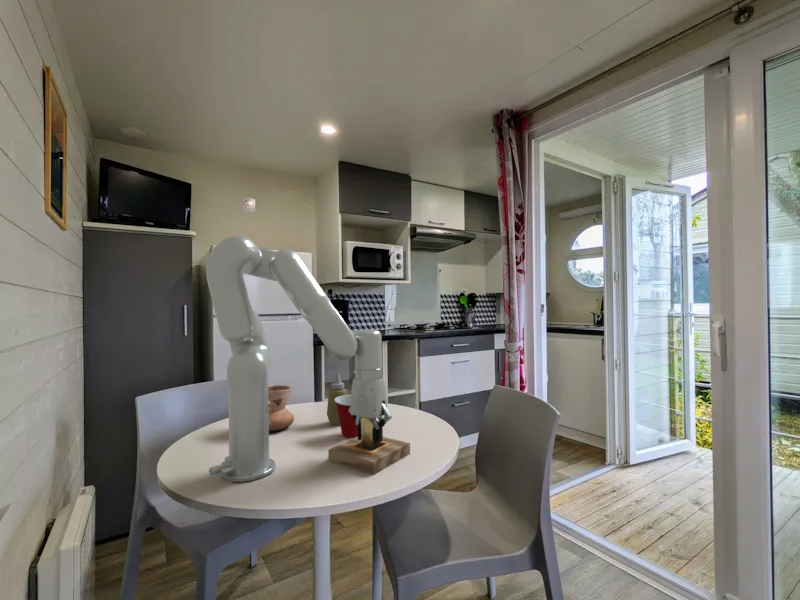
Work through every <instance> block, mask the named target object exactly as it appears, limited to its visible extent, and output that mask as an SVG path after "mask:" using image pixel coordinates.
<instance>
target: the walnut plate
mask: <svg viewBox="0 0 800 600" xmlns="http://www.w3.org/2000/svg"><path fill="white" fill-rule="evenodd" d="M327 453H328V461H329V462H331V463H335V464H338V465H341V466H346V467H347V468H348V467H349V468H351V469H355V470H358V471H361V472H363V473H364V472H365V473H368V474H371V475H376V474H377V473H380V472H382V471H383V470H384V469H386V468H388V467H390V466H392V465H393V464H395V463H397V462H399V461H400V460H402V459H404V458H405V457H407V456H408V455H410V454H411V442H408V441H403V440H398V439H393V438H389V437H387V436H385V437H384V436H383V438H382V441H381V442H379V448H377V449H375V450H373V451H369V450H365V449H361V440H358V436H357V437H353V438H352V439H349V440H347V441H345V442H343V443H341V444H337V445H336V446H333V447H331V448H328V452H327Z"/></svg>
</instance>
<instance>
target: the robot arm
mask: <svg viewBox="0 0 800 600" xmlns="http://www.w3.org/2000/svg"><path fill="white" fill-rule="evenodd" d="M205 269H206V271H205V272H206V273H205V275H206V281H207V285H208V289H209V293H210V296H211V302H212V306H213V310H214V314H215V318H216V321H217V327H218V330H219V333H220V336H221V337H222V338H223V339H224V340H225V341H227V342H228V344H229V347H230V351H231V353H232V354H231V355H232V356H231V357H230V358H229V360H228V363H227V366H226V380H227V394H228V456H225V457H224V461H222V462H221V464H219V465H214V466H211V467H209V468H208V473H209V476H210V477H213V476H216V475H220V476H221V477H222V479H224V480H226V481H228V482H233V483H241V482H242V483H243V482H249V481H250V482H251V481H255V480H258V479H261V478H264V477H266V476H268V475H270V474H271V473H273V472H274V471H275V469H276V461H275V460H274V459H272V458H270V432H269V398H268V386H269V369H270V367H271V362H272V358H271V354H270V353H271V352H270V350H269V349H270V348H269V347H268V346H269V345H268V342H267V339H266V335H265V332H264V331H265V330H264V328H263V324H262V321H261V318H260V316H259V314H258V313H257V312H256V311H255V310H254V309H252V305H251V301H250V298H249V295H248V294H249V293H248V290H247V287H246V283H245V281H244V275H248V276H253V277H257V278H260V279H265V280H268V281H269V280H270V281H275V282H278V284H279V286H281V288H282V290H283V291H284V292H285V294H286V296H287V298H288V299H289V300H290V302H291V303H292V304H293V306H294V308H296V310H297V311H298V312H299V314H300V315H301V317H303V319H305V321H307V322H308V324H309V326H310V327H311V328H312V329H313V330H314V332H315V334H316V335H317V336H318V337H319V339H320V340H321V341H322V343H323V344H324V346H325V347H326V348H327V351H328V352H329V354H330V355H331V357H332V358H334V359H336V360H339V361H348V360H349V359H351V358H352V357H354V368H355V369H353V374H355V375H354V376H355V378H353V379H352V385H351V391H350V395H351V407H350V409H349V412H350V414H351V415H352V416H353V418H354V420H355V421H356V422H355V424H356V425H358V426H357V428H358V436H357V437H358V440H361V417H365V418H371V419H373V421H374V425H375V429H373V443H374V444H377V443H379V442H381V441H382V438H383V437H384V435H383V434H384V433H383V428H384V427H385V425H386V424H387V423H388V422H389V421H390V420H391V419H392V418H393V416H392V414H391V412H390V411H389V409H388V396H387V389H386V385H385V379H383V350H382V349H383V345H382V343H383V342H382V339H383V337H382V334H381V332H380V331H379V330H376V329H368V330H367V329H366V330H365V329H364V330H363V329H362V330H358V331H355V330H354V331H353V330H351V329H350V328H349V326H348V324H347V323H346V322H345V320H344V318H342V315H340V313H339V312H338V310H337V309H336V308H335V306H334V305H333V304H332V302H331V300H330V298H329V297H328V295H327V294H326V292H325V291H324V290H323V288H322V287H321V286H320V283H319V282H318V281H317V280H316V278H315V277H314V274H312V273H311V271H310V269H309V268H308V267H307V265H306V264H305V262H304V260H303V259H302V258H301V256H300V255H299V254H298V253H297V252H296V251H295V250H293V249H289V248H283V249H280V250H271V249H268V248H264V247H260V246H257V245H256V244H255V243H254V242H253V241H252V240H251V239H250V238H248V237H246V236H242V235H230V236H228V237H226V238H223V239H222V240H221V241H220V242H218V243H217V244H216V245H215V246H214V247H213V248H212V250H211V251H210V253H209V256H208V258H207V261H206V268H205ZM378 419H379V422H378Z"/></svg>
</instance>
